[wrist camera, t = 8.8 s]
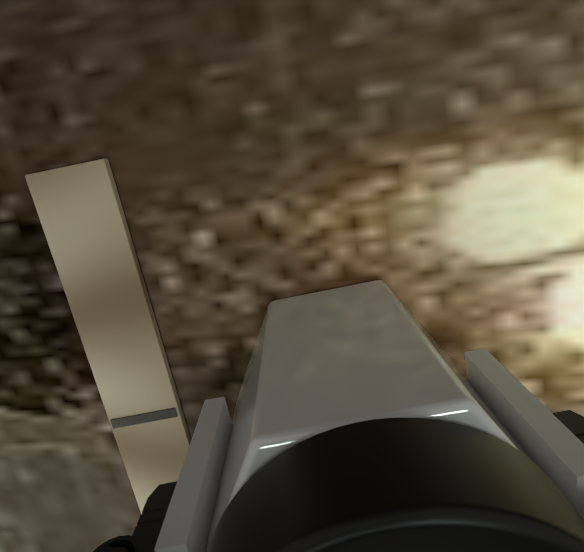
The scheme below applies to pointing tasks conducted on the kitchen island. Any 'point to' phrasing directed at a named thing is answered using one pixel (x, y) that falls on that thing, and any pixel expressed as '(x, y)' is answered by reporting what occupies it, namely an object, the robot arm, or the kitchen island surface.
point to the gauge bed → (114, 318)
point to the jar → (374, 443)
